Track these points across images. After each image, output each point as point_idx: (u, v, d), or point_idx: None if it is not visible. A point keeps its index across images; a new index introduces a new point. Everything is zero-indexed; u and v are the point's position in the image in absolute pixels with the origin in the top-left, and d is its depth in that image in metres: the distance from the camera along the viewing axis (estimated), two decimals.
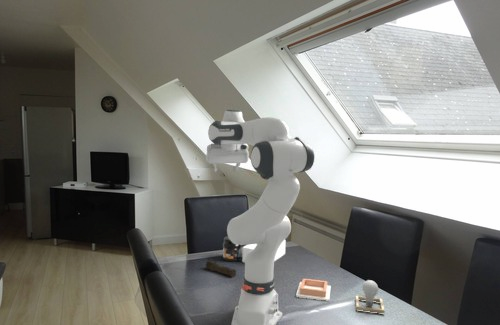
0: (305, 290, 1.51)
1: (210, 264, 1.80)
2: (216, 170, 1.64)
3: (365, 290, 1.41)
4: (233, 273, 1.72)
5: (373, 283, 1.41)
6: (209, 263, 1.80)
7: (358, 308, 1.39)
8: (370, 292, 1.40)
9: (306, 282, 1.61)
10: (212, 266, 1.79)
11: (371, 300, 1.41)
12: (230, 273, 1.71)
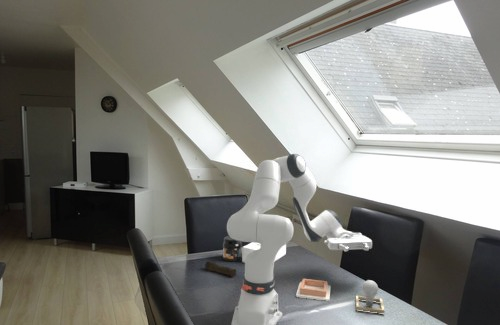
0: (305, 290, 1.51)
1: (210, 264, 1.79)
2: (345, 247, 1.54)
3: (365, 290, 1.41)
4: (233, 273, 1.72)
5: (373, 283, 1.41)
6: (208, 263, 1.80)
7: (358, 308, 1.39)
8: (370, 292, 1.40)
9: (306, 282, 1.61)
10: (212, 266, 1.78)
11: (371, 300, 1.41)
12: (230, 273, 1.71)
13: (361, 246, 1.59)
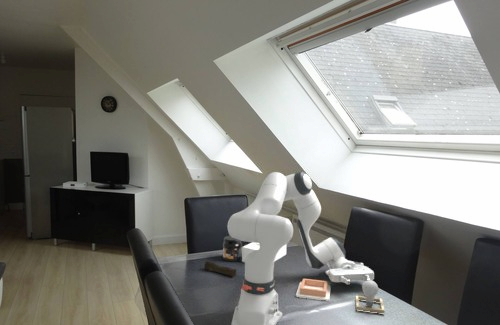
0: (305, 290, 1.51)
1: (209, 264, 1.79)
2: (347, 279, 1.52)
3: (365, 290, 1.41)
4: (234, 273, 1.72)
5: (373, 283, 1.41)
6: (208, 264, 1.79)
7: (358, 308, 1.39)
8: (370, 292, 1.40)
9: (306, 282, 1.61)
10: (211, 266, 1.78)
11: (371, 300, 1.41)
12: (231, 273, 1.71)
13: (363, 278, 1.58)
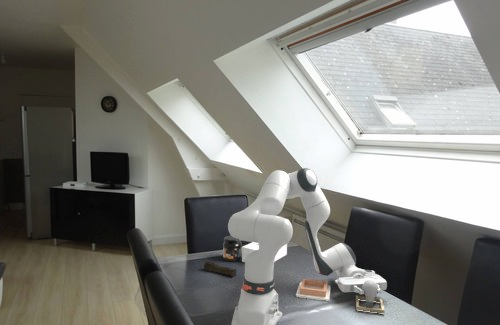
0: (305, 290, 1.51)
1: (209, 265, 1.79)
2: (360, 289, 1.42)
3: (365, 290, 1.41)
4: (234, 273, 1.72)
5: (373, 283, 1.41)
6: (208, 264, 1.79)
7: (358, 308, 1.39)
8: (370, 292, 1.40)
9: (306, 282, 1.61)
10: (211, 267, 1.78)
11: (371, 300, 1.41)
12: (231, 273, 1.71)
13: None
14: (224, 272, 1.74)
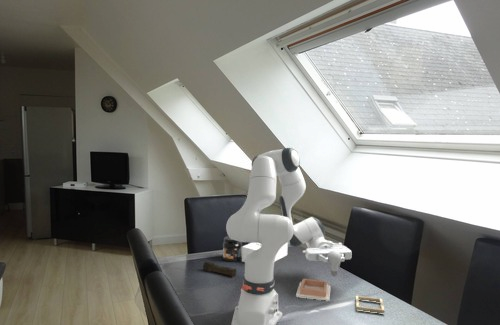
0: (305, 290, 1.51)
1: (208, 265, 1.78)
2: (325, 257, 1.49)
3: (329, 259, 1.48)
4: (234, 273, 1.72)
5: (336, 253, 1.48)
6: (207, 264, 1.79)
7: (358, 308, 1.39)
8: (333, 261, 1.47)
9: (306, 282, 1.61)
10: (211, 267, 1.77)
11: (335, 269, 1.48)
12: (231, 273, 1.71)
13: None
14: (224, 272, 1.74)
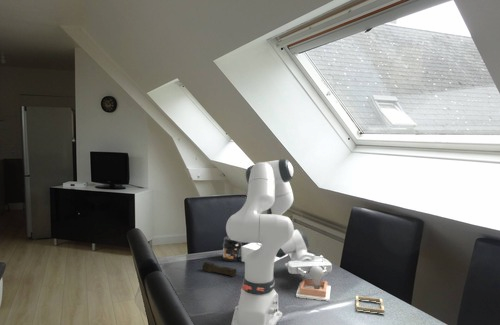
0: (305, 290, 1.51)
1: (208, 265, 1.78)
2: (303, 271, 1.54)
3: (311, 275, 1.54)
4: (234, 273, 1.72)
5: (318, 268, 1.53)
6: (207, 264, 1.78)
7: (358, 308, 1.39)
8: (315, 276, 1.52)
9: (306, 282, 1.61)
10: (210, 267, 1.77)
11: (317, 283, 1.54)
12: (231, 273, 1.72)
13: None
14: (224, 272, 1.74)
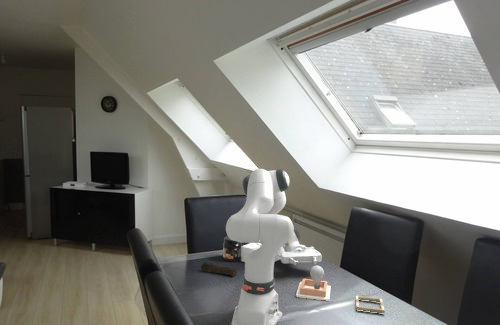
0: (305, 290, 1.51)
1: (207, 266, 1.77)
2: (295, 260, 1.67)
3: (312, 274, 1.54)
4: (234, 272, 1.72)
5: (319, 268, 1.54)
6: (206, 265, 1.78)
7: (358, 308, 1.39)
8: (315, 276, 1.53)
9: (306, 282, 1.61)
10: (210, 267, 1.77)
11: (317, 283, 1.54)
12: (232, 273, 1.72)
13: (311, 259, 1.73)
14: (224, 272, 1.73)
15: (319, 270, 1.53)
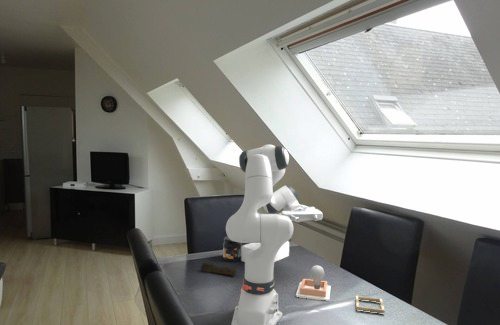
0: (305, 290, 1.51)
1: (207, 266, 1.77)
2: (295, 217, 1.66)
3: (312, 274, 1.54)
4: (234, 272, 1.73)
5: (319, 268, 1.54)
6: (206, 265, 1.77)
7: (358, 308, 1.39)
8: (316, 276, 1.53)
9: (306, 282, 1.61)
10: (210, 268, 1.76)
11: (317, 283, 1.54)
12: (232, 272, 1.72)
13: (312, 217, 1.71)
14: (224, 272, 1.73)
15: (319, 270, 1.53)
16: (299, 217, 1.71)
